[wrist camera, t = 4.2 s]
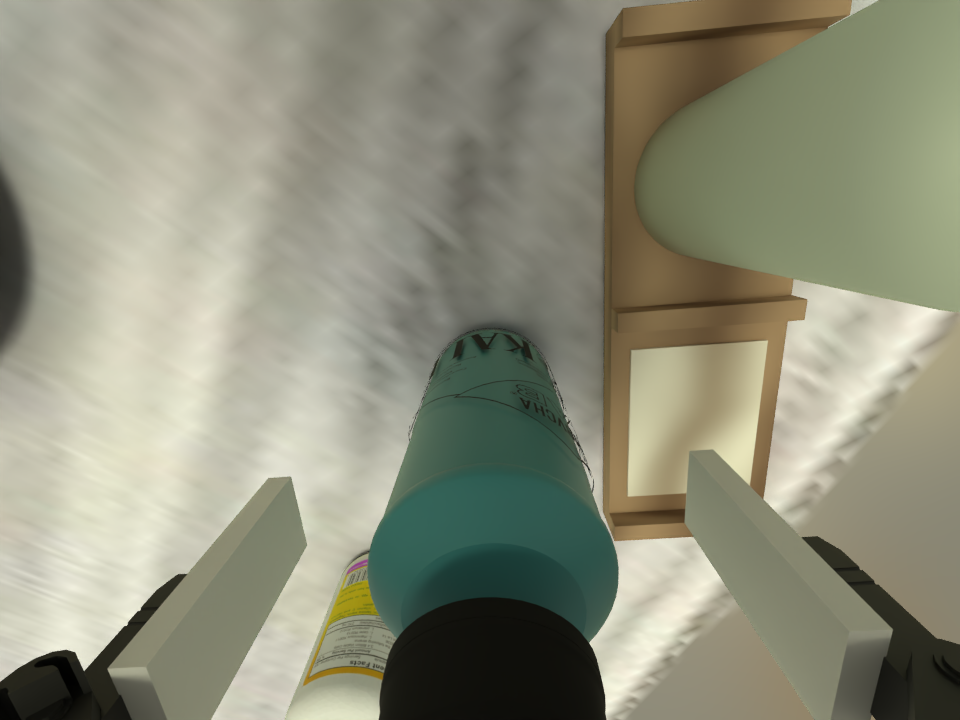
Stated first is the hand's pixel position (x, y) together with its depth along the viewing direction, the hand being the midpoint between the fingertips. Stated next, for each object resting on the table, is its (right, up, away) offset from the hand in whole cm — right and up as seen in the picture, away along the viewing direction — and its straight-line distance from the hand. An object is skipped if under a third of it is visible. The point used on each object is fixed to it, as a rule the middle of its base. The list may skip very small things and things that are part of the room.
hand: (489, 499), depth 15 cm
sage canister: (+10, +13, +6) cm, 18 cm away
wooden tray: (+11, +8, +9) cm, 16 cm away
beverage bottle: (0, +4, +11) cm, 12 cm away
